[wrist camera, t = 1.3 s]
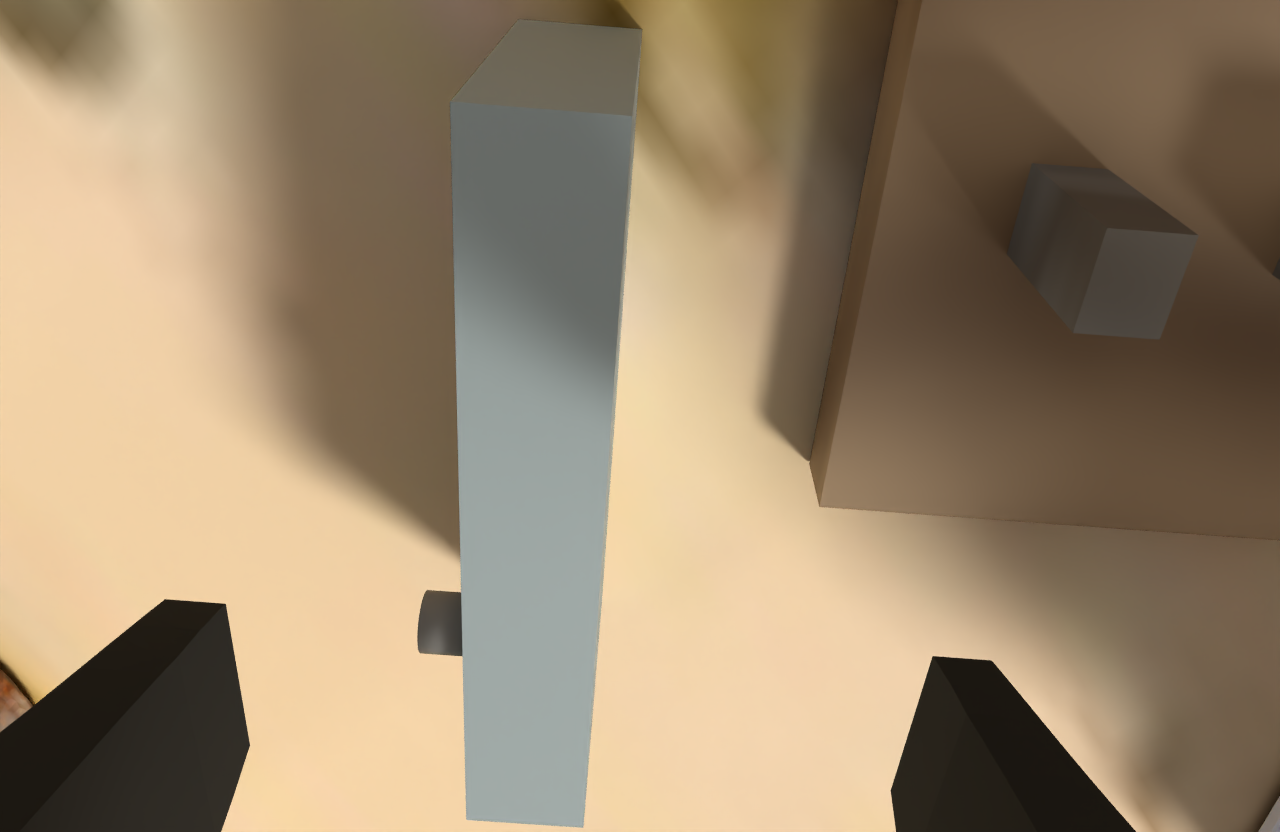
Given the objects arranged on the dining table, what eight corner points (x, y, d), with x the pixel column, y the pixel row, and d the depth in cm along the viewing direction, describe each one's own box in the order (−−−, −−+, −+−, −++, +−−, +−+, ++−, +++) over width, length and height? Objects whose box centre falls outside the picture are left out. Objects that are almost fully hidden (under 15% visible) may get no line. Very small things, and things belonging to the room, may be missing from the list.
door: (602, 595, 22) (583, 827, 17) (477, 587, 22) (419, 816, 17) (642, 28, 16) (632, 115, 11) (469, 14, 16) (376, 95, 11)
